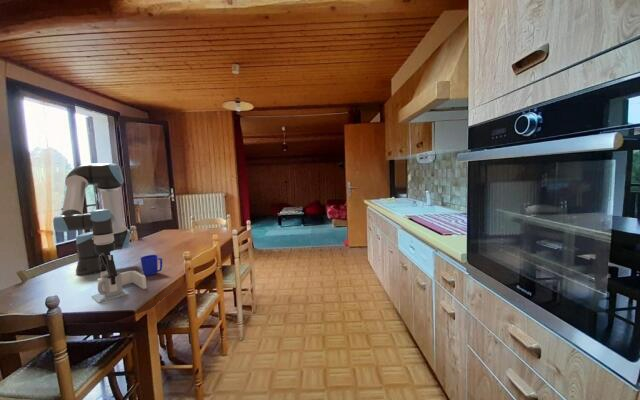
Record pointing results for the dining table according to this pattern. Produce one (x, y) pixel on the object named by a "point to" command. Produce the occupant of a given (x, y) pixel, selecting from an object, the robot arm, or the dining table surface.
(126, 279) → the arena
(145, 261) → the mug
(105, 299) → the pad
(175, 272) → the dining table surface
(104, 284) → the cup
